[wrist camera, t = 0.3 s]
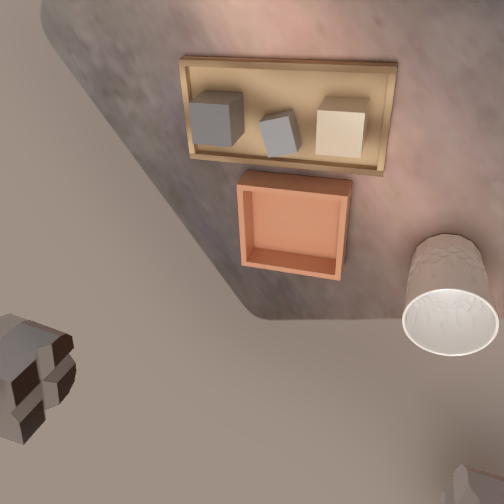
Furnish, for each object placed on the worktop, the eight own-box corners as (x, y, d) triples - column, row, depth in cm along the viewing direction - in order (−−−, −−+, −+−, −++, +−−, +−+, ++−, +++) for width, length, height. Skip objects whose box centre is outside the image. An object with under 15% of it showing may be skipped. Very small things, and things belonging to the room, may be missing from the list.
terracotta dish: (247, 170, 50) (236, 184, 47) (352, 180, 47) (347, 196, 44) (250, 248, 56) (241, 265, 53) (344, 262, 53) (340, 280, 50)
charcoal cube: (204, 90, 46) (187, 102, 43) (242, 92, 45) (228, 104, 42) (208, 129, 48) (192, 143, 45) (244, 132, 47) (231, 147, 44)
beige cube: (325, 96, 43) (317, 110, 39) (370, 98, 41) (365, 113, 38) (323, 138, 45) (315, 154, 42) (365, 141, 44) (360, 158, 41)
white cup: (474, 218, 45) (483, 279, 38) (497, 280, 48) (510, 348, 40) (395, 240, 49) (388, 300, 42) (421, 296, 52) (420, 362, 44)
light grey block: (264, 115, 45) (258, 122, 44) (293, 109, 44) (288, 116, 43) (273, 149, 47) (268, 157, 46) (301, 144, 46) (297, 152, 44)
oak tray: (184, 56, 45) (178, 59, 44) (398, 62, 40) (397, 66, 39) (195, 153, 51) (190, 158, 50) (383, 170, 45) (382, 176, 44)
